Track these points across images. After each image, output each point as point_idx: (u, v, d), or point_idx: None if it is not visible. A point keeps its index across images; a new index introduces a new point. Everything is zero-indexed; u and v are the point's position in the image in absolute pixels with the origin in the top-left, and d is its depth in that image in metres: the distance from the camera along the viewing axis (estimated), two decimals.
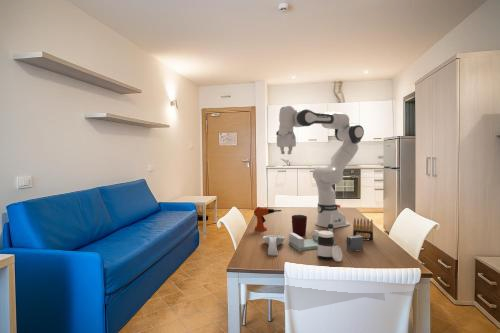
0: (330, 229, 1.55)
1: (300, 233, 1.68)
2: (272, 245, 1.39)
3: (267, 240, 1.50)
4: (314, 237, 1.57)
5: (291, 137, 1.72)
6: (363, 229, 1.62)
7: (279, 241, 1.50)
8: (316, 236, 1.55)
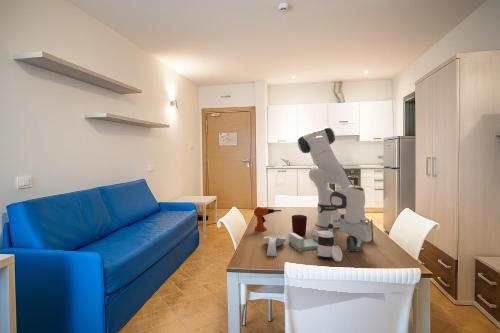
0: (330, 229, 1.55)
1: (300, 233, 1.68)
2: (271, 246, 1.38)
3: (267, 240, 1.49)
4: (314, 237, 1.57)
5: (366, 230, 1.35)
6: None
7: (280, 242, 1.49)
8: (316, 236, 1.55)
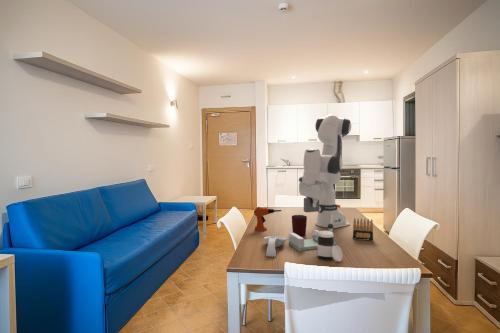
0: (330, 229, 1.55)
1: (300, 233, 1.68)
2: (271, 246, 1.38)
3: (267, 241, 1.49)
4: (314, 237, 1.57)
5: (320, 189, 1.41)
6: (363, 229, 1.62)
7: (280, 242, 1.48)
8: (316, 236, 1.55)
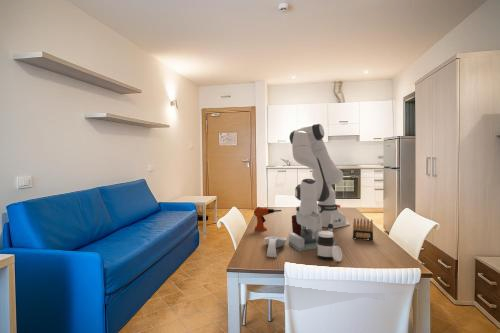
0: (330, 229, 1.55)
1: (300, 233, 1.68)
2: (271, 247, 1.37)
3: (268, 241, 1.48)
4: None
5: (316, 221, 1.42)
6: (363, 229, 1.62)
7: (280, 243, 1.47)
8: (316, 236, 1.55)
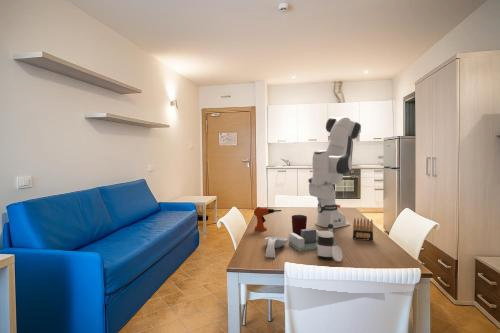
0: (330, 229, 1.55)
1: (300, 233, 1.68)
2: (270, 247, 1.37)
3: (268, 242, 1.48)
4: None
5: (329, 190, 1.45)
6: (363, 229, 1.62)
7: (280, 243, 1.47)
8: (316, 236, 1.55)
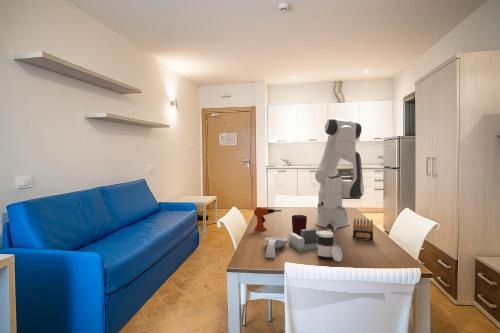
0: (329, 229, 1.55)
1: (300, 233, 1.68)
2: (270, 247, 1.36)
3: (268, 242, 1.47)
4: None
5: (343, 215, 1.47)
6: (363, 229, 1.62)
7: (280, 243, 1.46)
8: None
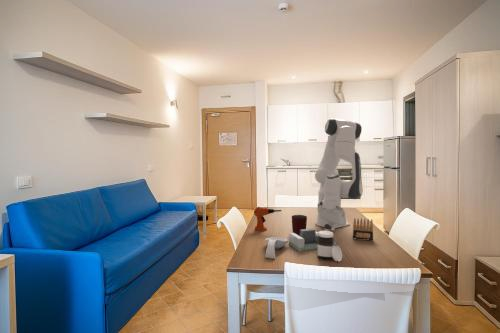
0: (326, 229, 1.55)
1: None
2: (270, 247, 1.36)
3: None
4: None
5: (340, 215, 1.47)
6: (363, 229, 1.62)
7: (280, 244, 1.46)
8: None
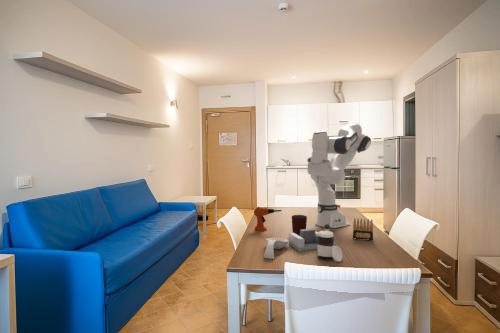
0: (326, 229, 1.55)
1: None
2: (269, 248, 1.35)
3: None
4: None
5: (327, 167, 1.56)
6: (363, 229, 1.62)
7: (281, 244, 1.45)
8: None
